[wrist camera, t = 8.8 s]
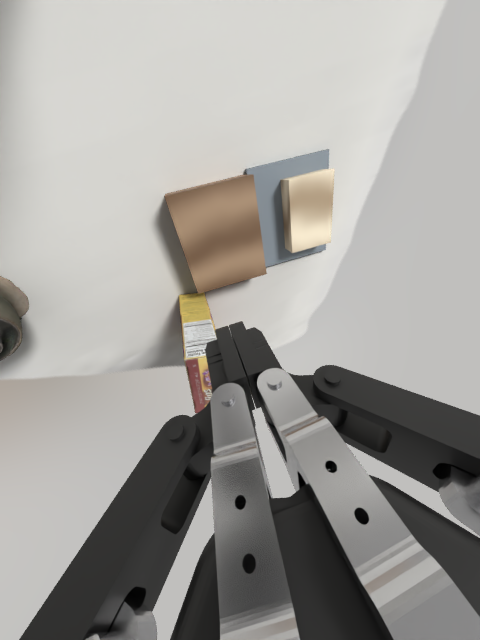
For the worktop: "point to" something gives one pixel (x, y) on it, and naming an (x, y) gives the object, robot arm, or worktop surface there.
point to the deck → (219, 231)
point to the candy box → (197, 345)
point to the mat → (271, 202)
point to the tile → (307, 209)
